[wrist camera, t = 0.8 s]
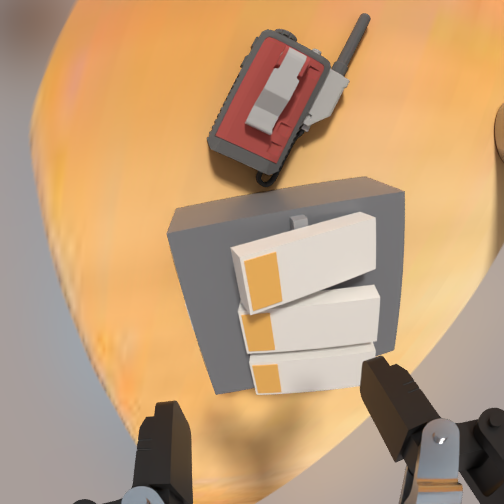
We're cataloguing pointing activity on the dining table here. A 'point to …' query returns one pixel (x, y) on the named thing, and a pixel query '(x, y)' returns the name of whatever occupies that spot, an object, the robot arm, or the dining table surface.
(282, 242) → the white rectangular block
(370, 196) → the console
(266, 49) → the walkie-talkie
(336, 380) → the rocker
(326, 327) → the rocker
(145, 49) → the dining table surface
